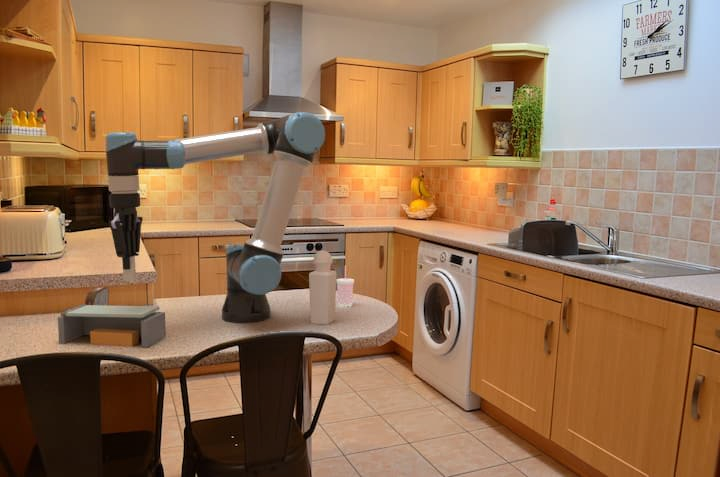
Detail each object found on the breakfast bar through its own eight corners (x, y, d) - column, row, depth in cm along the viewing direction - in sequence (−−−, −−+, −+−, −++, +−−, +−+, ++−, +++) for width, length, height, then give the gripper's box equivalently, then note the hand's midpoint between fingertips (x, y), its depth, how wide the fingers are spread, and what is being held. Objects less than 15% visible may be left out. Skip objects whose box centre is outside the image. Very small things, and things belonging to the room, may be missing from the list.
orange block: (138, 343, 157) (138, 330, 157) (132, 347, 154) (131, 333, 154) (98, 341, 160) (97, 328, 159) (90, 344, 156) (90, 331, 156)
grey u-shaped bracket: (165, 336, 163) (165, 312, 162) (147, 347, 153) (146, 321, 152) (82, 332, 166) (80, 308, 166) (59, 343, 157) (57, 317, 156)
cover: (159, 310, 161) (159, 305, 161) (142, 318, 152) (142, 313, 152) (82, 308, 165) (81, 304, 165) (61, 317, 156) (60, 311, 156)
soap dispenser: (308, 323, 178) (308, 251, 175) (317, 318, 184) (317, 248, 181) (328, 325, 175) (328, 252, 173) (336, 320, 181) (336, 249, 179)
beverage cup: (338, 303, 204) (338, 263, 203) (355, 304, 203) (356, 264, 201) (334, 307, 198) (334, 266, 197) (351, 308, 197) (352, 267, 195)
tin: (101, 308, 196) (100, 283, 195) (111, 308, 196) (110, 283, 195) (84, 319, 181) (82, 292, 180) (94, 319, 181) (93, 292, 180)
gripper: (124, 191, 161) (129, 276, 164) (96, 193, 148) (102, 285, 151) (150, 191, 160) (155, 276, 163) (124, 193, 147) (130, 286, 150)
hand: (130, 280), depth 157 cm, fingers closed
